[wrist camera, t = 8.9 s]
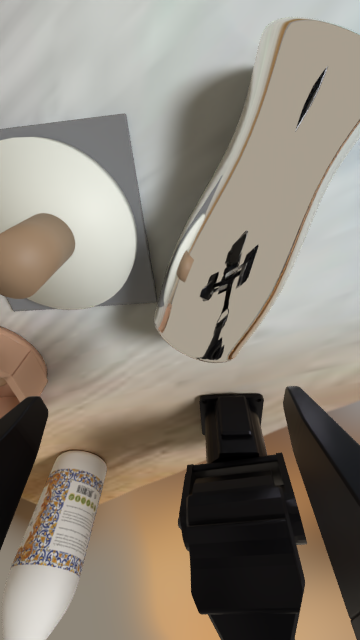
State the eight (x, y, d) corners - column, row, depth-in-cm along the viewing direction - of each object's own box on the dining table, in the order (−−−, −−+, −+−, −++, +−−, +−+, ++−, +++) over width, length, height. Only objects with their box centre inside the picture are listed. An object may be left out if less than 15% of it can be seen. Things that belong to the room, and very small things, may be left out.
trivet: (156, 299, 22) (156, 302, 22) (17, 308, 23) (13, 311, 23) (125, 114, 15) (124, 113, 15) (-71, 138, 16) (-78, 138, 16)
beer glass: (264, 63, 15) (175, 291, 23) (238, -17, 9) (130, 326, 17) (390, 108, 14) (249, 332, 22) (451, 50, 8) (229, 384, 16)
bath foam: (62, 443, 35) (-54, 721, 18) (114, 457, 36) (49, 726, 20) (52, 467, 38) (-52, 716, 22) (100, 479, 40) (35, 721, 24)
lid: (149, 297, 21) (135, 349, 16) (17, 305, 22) (-35, 357, 17) (117, 125, 15) (80, 124, 10) (-64, 147, 16) (-183, 155, 11)
